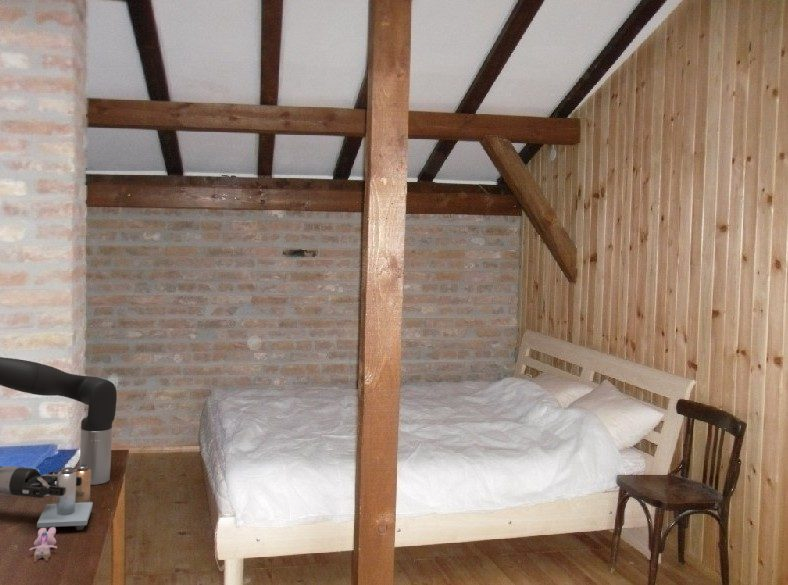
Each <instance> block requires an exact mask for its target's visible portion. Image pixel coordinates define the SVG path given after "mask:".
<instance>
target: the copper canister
mask: <svg viewBox="0 0 788 585" xmlns="http://www.w3.org/2000/svg"><path fill="white" fill-rule="evenodd" d="M73 470H74V471H76V477H81V478H82V484H81V485H80V486H76V498H75V503H85V502H91V485H90V481H91V468H88V465H80V464H79V465H77V466H76V467H75V468H73Z"/></svg>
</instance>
